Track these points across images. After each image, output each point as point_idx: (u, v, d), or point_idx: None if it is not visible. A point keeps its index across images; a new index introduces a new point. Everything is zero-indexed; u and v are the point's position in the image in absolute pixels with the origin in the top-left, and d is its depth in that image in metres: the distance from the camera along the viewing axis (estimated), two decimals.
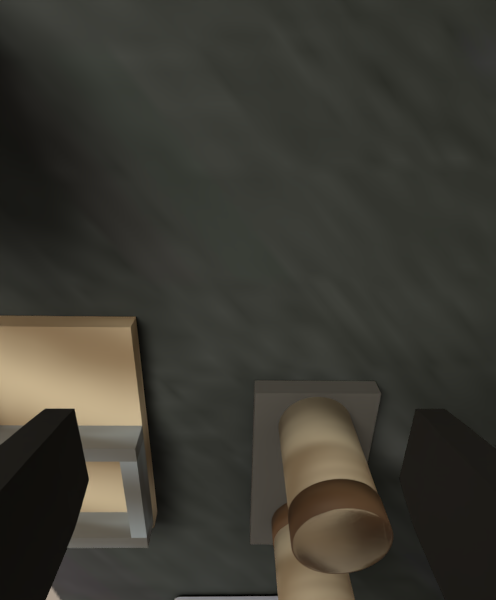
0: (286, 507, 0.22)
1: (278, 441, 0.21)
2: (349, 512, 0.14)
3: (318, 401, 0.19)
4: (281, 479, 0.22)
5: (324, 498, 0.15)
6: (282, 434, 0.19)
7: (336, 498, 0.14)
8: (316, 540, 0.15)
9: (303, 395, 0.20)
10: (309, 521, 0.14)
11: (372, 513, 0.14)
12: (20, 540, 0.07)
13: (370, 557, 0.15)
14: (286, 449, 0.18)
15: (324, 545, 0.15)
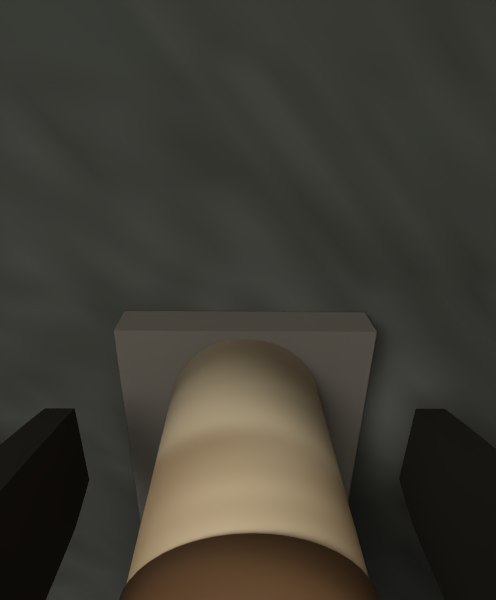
0: None
1: None
2: None
3: (244, 346, 0.09)
4: None
5: None
6: None
7: None
8: None
9: (215, 335, 0.09)
10: None
11: None
12: (19, 540, 0.06)
13: None
14: (160, 447, 0.08)
15: None
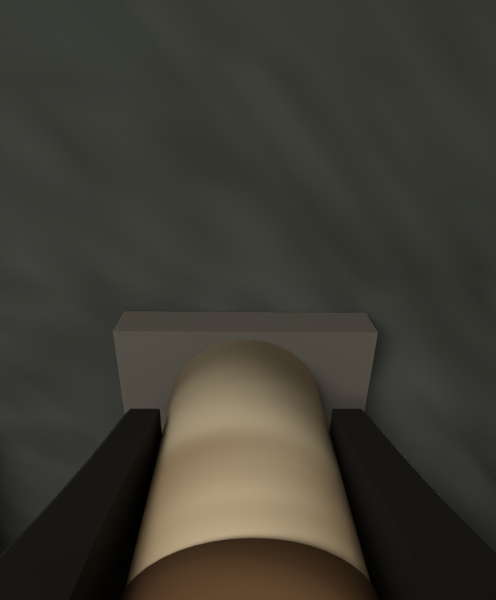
0: None
1: None
2: None
3: (244, 347, 0.09)
4: None
5: None
6: (166, 417, 0.09)
7: None
8: None
9: (215, 336, 0.09)
10: None
11: None
12: (129, 539, 0.07)
13: None
14: (159, 448, 0.08)
15: None
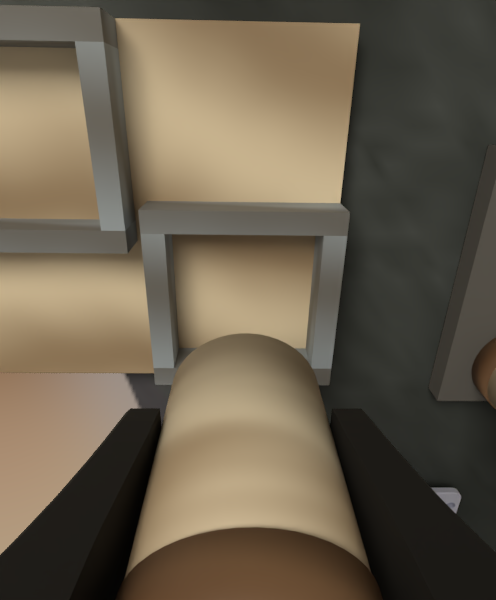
0: None
1: None
2: None
3: (247, 340, 0.09)
4: None
5: (191, 598, 0.04)
6: (166, 408, 0.09)
7: None
8: None
9: None
10: None
11: None
12: (129, 539, 0.07)
13: None
14: (159, 439, 0.08)
15: None
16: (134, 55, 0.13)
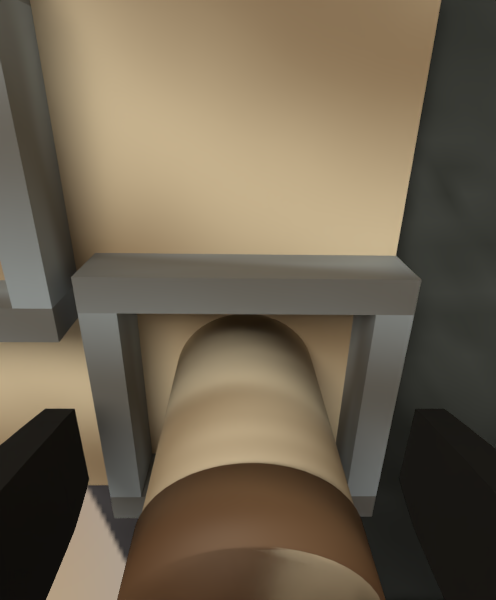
0: None
1: None
2: (265, 558, 0.05)
3: (247, 319, 0.10)
4: None
5: (202, 514, 0.05)
6: (173, 381, 0.10)
7: (233, 515, 0.05)
8: None
9: None
10: (151, 580, 0.05)
11: (334, 563, 0.05)
12: (19, 540, 0.06)
13: None
14: (169, 405, 0.09)
15: None
16: (59, 17, 0.08)
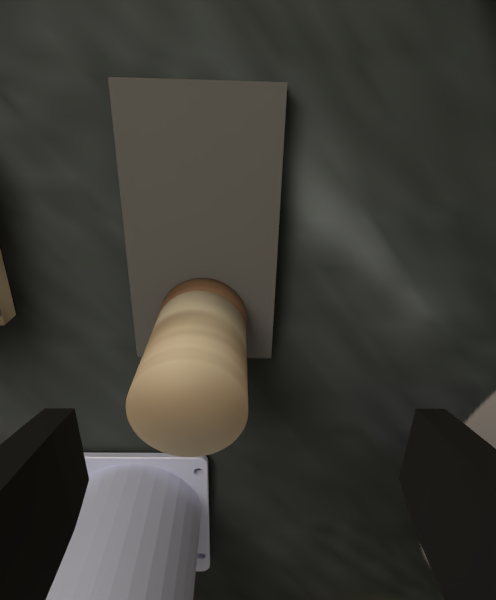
0: (175, 288, 0.17)
1: (152, 171, 0.15)
2: None
3: None
4: (165, 242, 0.16)
5: None
6: None
7: None
8: None
9: (177, 83, 0.14)
10: None
11: None
12: (19, 540, 0.06)
13: None
14: None
15: None
16: None
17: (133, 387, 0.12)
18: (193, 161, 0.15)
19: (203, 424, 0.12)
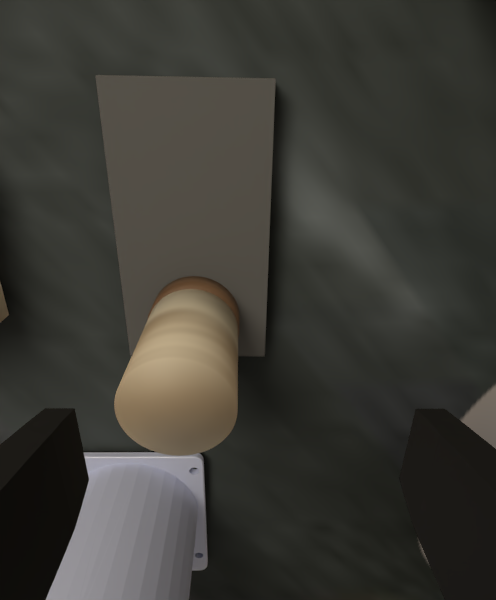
0: (166, 286, 0.17)
1: (141, 169, 0.15)
2: None
3: None
4: (156, 240, 0.16)
5: None
6: None
7: None
8: None
9: (164, 80, 0.14)
10: None
11: None
12: (19, 540, 0.07)
13: None
14: None
15: None
16: None
17: (121, 386, 0.12)
18: (182, 159, 0.15)
19: (193, 423, 0.12)
